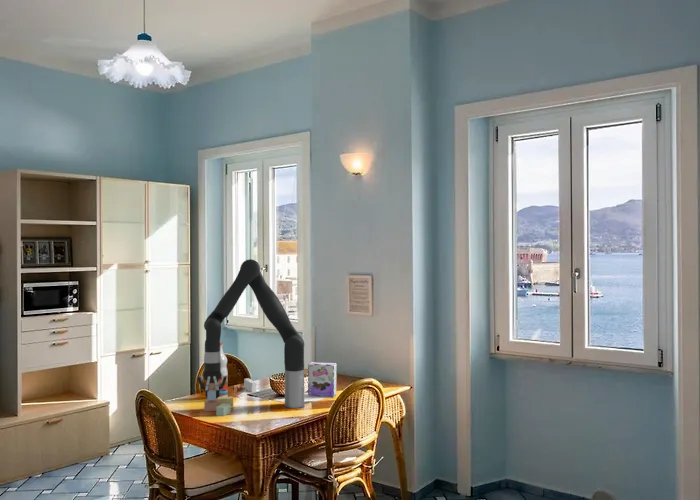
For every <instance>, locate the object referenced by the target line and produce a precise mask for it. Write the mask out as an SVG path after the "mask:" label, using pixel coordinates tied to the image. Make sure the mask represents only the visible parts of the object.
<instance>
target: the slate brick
mask: <svg viewBox="0 0 700 500" xmlns="http://www.w3.org/2000/svg"><path fill="white" fill-rule="evenodd" d="M206 399H207V400H206V401H210V400H216V399H217V398H216V390H209V391H207V397H206Z"/></svg>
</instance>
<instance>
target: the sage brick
mask: <svg viewBox="0 0 700 500" xmlns="http://www.w3.org/2000/svg"><path fill="white" fill-rule="evenodd" d="M231 408H232V406H231V404H228V403H223V404H221V405H219V406H217V407H216V413H215V414H216V416H217V417H225V416H226V415H228V414H230V413H231Z"/></svg>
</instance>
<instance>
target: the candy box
mask: <svg viewBox="0 0 700 500" xmlns="http://www.w3.org/2000/svg"><path fill="white" fill-rule="evenodd" d="M307 365H308V366H307V369H308V370H307V371H308V372H307V395H309V396H310V397H322V398H334V397H336V396H337V366H338V365H337V363H336V362H319V361H318V362H316V361H310V362H309V363H308V364H307Z"/></svg>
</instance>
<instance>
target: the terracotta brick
mask: <svg viewBox="0 0 700 500" xmlns="http://www.w3.org/2000/svg"><path fill="white" fill-rule="evenodd" d="M203 405H204V410H203V411H204V412H213V411H214V412H215V411H216V407H217V406H219V405H220V400H215V401H210V400H204V403H203Z"/></svg>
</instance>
